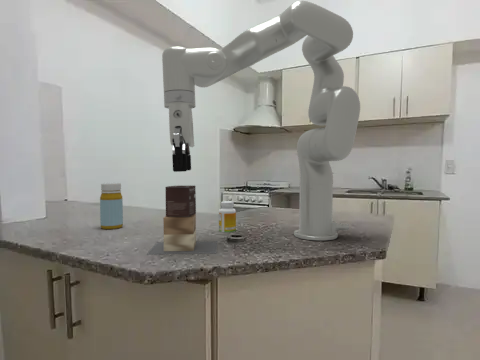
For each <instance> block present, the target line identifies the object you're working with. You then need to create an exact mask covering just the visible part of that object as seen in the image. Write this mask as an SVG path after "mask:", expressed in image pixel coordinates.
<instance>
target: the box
mask: <svg viewBox="0 0 480 360" xmlns="http://www.w3.org/2000/svg"><path fill="white" fill-rule="evenodd" d="M196 195H197V193H196V185H170V186H169V185H168V186H165V216H167V217H190V216H192V215H194V214H196V213H197V202H196V201H197V200H196V199H197V196H196ZM196 215H197V214H196Z"/></svg>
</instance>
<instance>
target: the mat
mask: <svg viewBox="0 0 480 360" xmlns="http://www.w3.org/2000/svg"><path fill="white" fill-rule="evenodd" d="M217 248H218V241H217V240H216V241H215V240H213V241H212V240H209V241H207V240H206V241H205V240H204V241H202V240H201V241H197V240H196V245H195V248H194V251H164V241H157V242H156V243H155V244H154V245H153V246H152V248H151V249H150V250H148V252H147V253H146V255H147V256H148V255H151V256H152V255H203V254H204V255H205V254H207V255H208V254H209V255H210V254H217V250H218V249H217Z"/></svg>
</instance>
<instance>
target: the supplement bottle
mask: <svg viewBox="0 0 480 360" xmlns="http://www.w3.org/2000/svg"><path fill="white" fill-rule="evenodd" d="M220 206H221V208H219V209H218V232H220V233H235V232H236V231H237V211H236V210H237V209H236V208H234V207H235V201H231V200H227V201H226V200H223V201H221V202H220Z"/></svg>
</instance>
